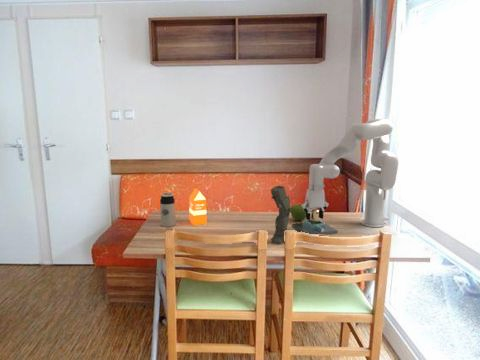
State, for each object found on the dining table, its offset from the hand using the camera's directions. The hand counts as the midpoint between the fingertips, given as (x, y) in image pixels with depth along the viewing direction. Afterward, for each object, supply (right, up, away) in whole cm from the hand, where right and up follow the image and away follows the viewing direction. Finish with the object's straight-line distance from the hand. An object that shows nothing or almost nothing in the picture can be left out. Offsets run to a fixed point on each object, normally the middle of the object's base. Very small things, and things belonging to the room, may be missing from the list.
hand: (314, 218), depth 197 cm
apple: (-6, -3, +18) cm, 19 cm away
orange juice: (-65, -4, +13) cm, 67 cm away
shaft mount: (0, -6, +1) cm, 6 cm away
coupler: (0, -5, +1) cm, 5 cm away
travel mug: (-82, -5, +9) cm, 82 cm away
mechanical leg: (-20, -10, -16) cm, 28 cm away
